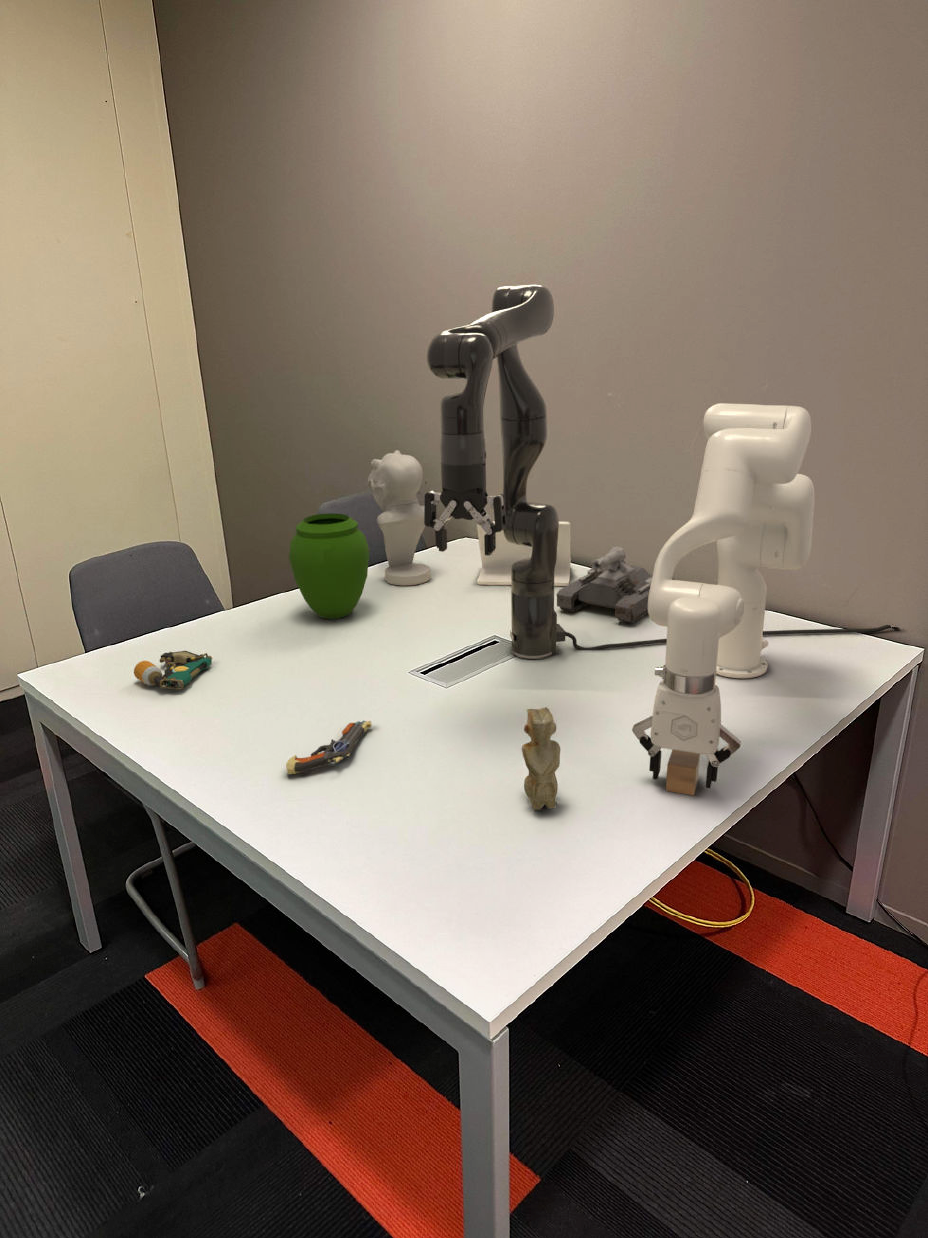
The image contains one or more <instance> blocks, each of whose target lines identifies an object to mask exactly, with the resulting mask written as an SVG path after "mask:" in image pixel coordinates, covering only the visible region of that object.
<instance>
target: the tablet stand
mask: <svg viewBox="0 0 928 1238" xmlns="http://www.w3.org/2000/svg"><path fill="white" fill-rule="evenodd" d="M492 521H493V523H494V524H495V520H492ZM476 531H477V537H478V544H479V551H480V557H481V558H480V559H481V570H480V573H479V575H478V577H477V580H476V581H477V582H476V584H478V585H484V586H485V585H486V586H487V585H489V586H490V585H491V586H511V567H512V565H513V563H515V562H516V561H519V560H522V559H526V558H530V557H531V556H532V547H528V546H521V545H516V544H512V543H509V542H508V541H507V540H506V538H505V536H504V533H503V530H502V531H501V532H496V548H495V551H493V552H492V554H491V555H490V556H486V555H485V546H484V535H485V534H486V533H485V531H484V530H483V528H482V527H481V526H480V525H478V524H477V523H476ZM571 560H572V558H571V522H569V521H559V532H558V546H557V561H556V566H555V571H554V587H556V586H557V587H566V586H567V585H569V584H570V580H571V579H570V578H571V565H572V564H571Z"/></svg>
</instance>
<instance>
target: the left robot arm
mask: <svg viewBox="0 0 928 1238" xmlns="http://www.w3.org/2000/svg"><path fill="white" fill-rule="evenodd" d="M554 316H555V305H554V298H553V296H552V293H551V290H550V289H548V288H547V287H546V286H544V285H539V284H524V285H521V284H520V285H506V286H505V285H504V286H500V287H498V288H496V290H495V291H494V293H493V296H492V300H491V312H489V313H486V314H483V315H482V316H480V317H477V318H476V319H474V320H473V321H471V322H469V324H467V325H463V326H460V327H455V328H451V329H448V330H447V329H446V330H444V331H442V332H439V333H438V334H436V335H435V336H434V337H433V338H432V339H431V341H430V342H429V344H428V347H427V349H426V363H427V366H428V369H429V370H430V372H431V373H432V374H433V375H434V376H435V377H437V378H440V379H444V380H466V384H465V386H464V388H463V390H462V391H461V392H456V393H452V394H448V395H446V396H444V397H443V398H442V399H441V401H440V405H439V406H440V409H439V412H440V444H439V445H440V446H439V447H440V448H439V449H440V475H441V479H440V480H441V492H438V491H436V490H435V489H432V490H429V491H427V492H426V493H424V505H423V506H424V524H425V527H430V528H432V529H433V530H434V533H435V534H434V535H435V537H434V538H435V547H436V548H437V549H438V551H439V552H442V553H444V552H445V551H447V549H448V535H447V534H448V532H447V528H446V526H447V525H448V523H449V522H450V520H451V519H452V518H453V519H454V520H461V519H464V520H467V521H472V520H474V522H476V525H477V524H478V525H480V526H481V527H482V528H483V530H484V531H485V533H486V534H485V535H484V546H485V555H486V556H490V555H491V554H492V552H493V551H495V548H496V532H501V531H502V530H503V533H504V536H505V538H506V540H507V541H508V542H509V543H512V544H516V545H521V546H528V547H532V556H531V557H530V558H526V559H522V560H519V561H516V562H515V563H513V565H512V567H511V585H510V588H511V589H510V597H511V599H510V603H511V604H510V606H511V607H510V609H511V610H510V615H511V617H510V618H511V621H510V622H511V630H509V637H510V639H511V643H510V644H511V647H510V651H511V653H512V655H513V656H515V657H518V658H521V659H525V660H526V659H527V660H540V659H545V658H548V657H550V656H552V655H557V654H558V653H557V650H558V649H557V648H558V647H557V645H558V644H557V643H560V642H561V643H562V642H566V638H569V639H571V640H572V646H573V648H574V649H576V650H578V651H601V650H607V649H618V648H628V647H629V648H630V647H636V646H637V647H638V646H646V645H647V646H648V645H656V644H658V645H659V644H666V643H667V638H660V639H659V638H657V639H650V640H637V641H629V642H620V643H619V642H618V643H606V644H600V645H596V646H591V647H584V646H581V645H578V644H577V638H576V636H575V635H573V634H572V633H570V632H568V631H566V630H565V629H564V628H563V626H561V625H560V623H558V613H557V612H556V611H555V586H554V571H555V566H556V561H557V546H558V532H559V522H560V520H559V514H558V511H557V509H556V507H554V506H553V505H551V504H547V503H541V502H532V501H528V497H527V489H528V479H529V476H530V474H531V471H532V470H533V467H534V466H535V464H536V462H537V461H538V459H539V457H540V455H541V454H542V452H543V451H544V450H543V449H544V448H545V446H546V443H547V439H548V418H547V417H548V416H547V415H548V413H547V405H546V402H545V399H544V397H543V396H542V394H541V391H539V389H538V387H537V386H536V384H535V383H534V381H533V380H532V378H531V376H530V375H529V374H528V372H527V371H526V368H525V366H524V364H523V362H522V360H521V356H520V352H519V348H518V344H519V343H522V342H524V341H527V340H529V339H532V338H536V337H540V336H543V335H545V334H546V333H548V332H549V330H550V329H551V327H552V324H553V323H554V322H553V321H554ZM495 359H496V364H497V372H498V388H499V390H498V391H499V420H500V421H499V422H500V434H501V435H500V437H501V438H500V439H501V451H502V471H503V473H502V477H503V478H502V479H503V481H502V493H500V494H498V495H489V494H488V492H487V461H486V460H487V451H486V440H485V433H484V405H485V398H486V392H487V387H488V382H489V379H490V374H491V371H492V367H493V363H494V360H495ZM439 502H441V503H442V505H443V506H444V508H445V509H443V512H442V513H441V515H440V516H439V518H438V519H437V505H438V504H439ZM488 504H489V505H490V508H491V509H492V510H493V517H494V519H493V520H492V518H491V515H490V514H489V512H488V510H487V509H486V508H485V507H486V506H487V505H488ZM493 521H495V524H494V523H493ZM888 629H892V630H894V631H896V632H901V629H900V628H899V627H898V626H897V627H892V628H891V626H890V625H888V624H885V625H882V626H878V627H871V628H869V627H868V628H824V629H823V628H819V629H817V628H816V629H815V628H813V629H782V630H763V635H762V636H775V635H776V636H777V635H804V634H807V635H809V634H812V635H813V634H864V633H865V634H866V633H878V632H882V631H886V630H888Z"/></svg>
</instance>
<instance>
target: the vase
mask: <svg viewBox="0 0 928 1238" xmlns="http://www.w3.org/2000/svg"><path fill="white" fill-rule="evenodd" d="M358 524H359V523H358V521H356V520H355V519H353V518H352V517H350V516H349V515H347V514H344V513H335V512H334V513H333V512H331V513H320V514H313V515H310V516H307V517H305V518H303V519H302V520H301V521H300V522H299V523H298V524H297V525H296V526H295V532H296V533H295V534H294V536H293V537H292V538H291V540H290V542H289V551H288V559H289V564H290V566H291V567H290V568H291V570H292V575H293V578H294V581H295V584H296V586H297V587H298V589H299V591H300V593H301V596H302V597H303V600H304V601H305V603H306V604H307V605H308V607H309V608H310V609H311V611H312V612H314V613H315V614H316V615H317V616H318V617H320V618H324V619H326V620H327V619H329V620H336V619H341V618H345V617H347V616H349V615H350V614H351V613H352V612H353V611H354V610H355V608H356V607H357V605H358V604H359V601H360V599H361V597H362V595H363V592H364V588H365V586H366V581H367V578H368V570H369V561H370V560H369V559H370V548H369V545H368V541H367V537H366V535H365V534H364V533H363V532H362V531H361V530H360V529H359V527H358Z"/></svg>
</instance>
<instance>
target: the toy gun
mask: <svg viewBox="0 0 928 1238" xmlns="http://www.w3.org/2000/svg"><path fill="white" fill-rule="evenodd" d="M372 726H373V723H372V721H371V720H362V721H359V720H357V722H349V723H348V724H347V725H346V726H345V728H344V729H343V730H342V731H341V734H342V736H341V737H340V738H339V739H338V740H335V739H331V740H330V743H329V744H323V745H320V746H319V747H317V749H316V750H314V751H313V752H312V753H311V754H310V756H307V757H298V756H297V754H295V755H293V756H292V757H290V758H289V759H288V760H287V762H286V766H285V767H286V771H287V774H288V775H295V774H299V773H303V772H307V771H309V770H313V769H317V768H320V767H324V766H326V765H330V764H331V763H336V764H337V763H339V762H340V761H342V760H344V758H346V757H349V756H350V755H351V753H352V752H353V751H354V749H355V748H356V747H357V746H356V745H357V742H358V741H359V740H360V738H361V737H362V736H363V734H364V733H366V732H367V730H369V729H370V728H372Z"/></svg>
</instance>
